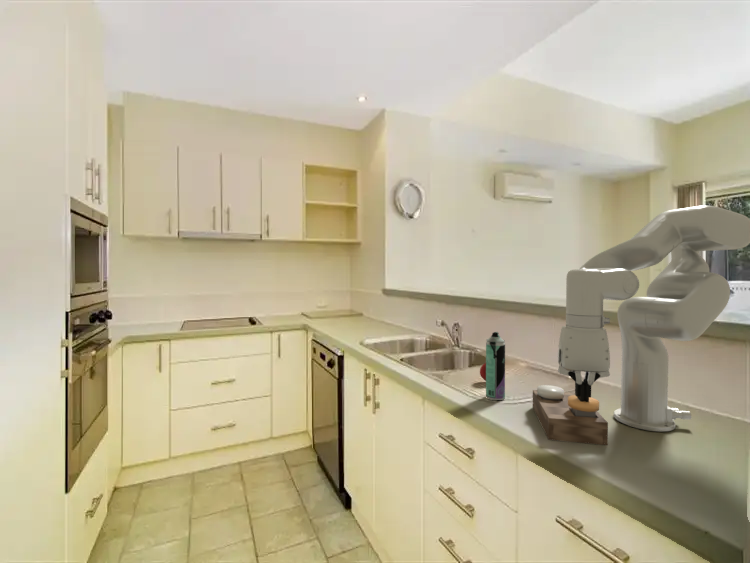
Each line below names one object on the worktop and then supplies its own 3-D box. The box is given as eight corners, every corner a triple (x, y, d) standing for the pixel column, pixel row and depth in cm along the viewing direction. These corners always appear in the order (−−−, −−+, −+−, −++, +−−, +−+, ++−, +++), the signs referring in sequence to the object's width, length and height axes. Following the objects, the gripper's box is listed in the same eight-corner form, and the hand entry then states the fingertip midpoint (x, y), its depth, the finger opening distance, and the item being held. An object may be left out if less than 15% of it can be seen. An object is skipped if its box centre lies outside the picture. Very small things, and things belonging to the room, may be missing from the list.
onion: (497, 381, 128) (497, 358, 128) (497, 386, 122) (497, 362, 122) (479, 379, 130) (479, 357, 129) (479, 384, 124) (479, 361, 124)
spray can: (506, 401, 108) (506, 333, 107) (486, 400, 109) (487, 333, 108) (503, 395, 113) (503, 330, 113) (485, 394, 114) (485, 330, 114)
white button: (560, 410, 100) (560, 385, 100) (566, 419, 94) (566, 393, 93) (535, 408, 101) (535, 384, 101) (539, 417, 95) (539, 391, 95)
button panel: (579, 411, 100) (579, 393, 100) (607, 445, 81) (607, 422, 81) (532, 407, 103) (532, 390, 103) (548, 439, 84) (548, 418, 83)
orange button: (593, 423, 89) (593, 396, 89) (603, 435, 83) (603, 405, 82) (564, 421, 90) (564, 394, 90) (571, 432, 84) (572, 403, 84)
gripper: (613, 320, 88) (612, 397, 88) (545, 319, 91) (545, 392, 92) (627, 325, 80) (625, 408, 81) (553, 323, 84) (552, 403, 84)
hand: (582, 399), depth 86 cm, fingers closed
